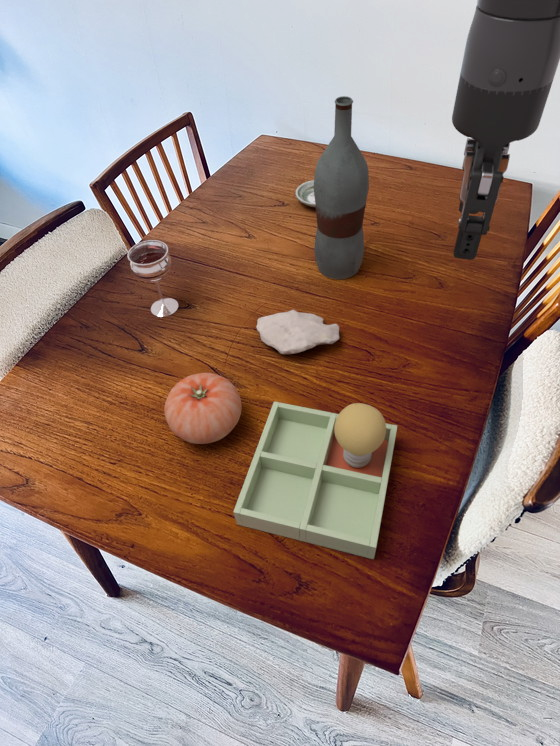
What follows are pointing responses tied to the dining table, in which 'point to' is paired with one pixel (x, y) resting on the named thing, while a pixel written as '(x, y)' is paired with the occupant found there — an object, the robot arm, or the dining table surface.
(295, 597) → the dining table surface
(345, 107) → the bottle
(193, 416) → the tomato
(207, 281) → the dining table surface
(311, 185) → the saucer
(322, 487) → the grid
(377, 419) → the light bulb
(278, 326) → the decorative stone
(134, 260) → the wineglass
